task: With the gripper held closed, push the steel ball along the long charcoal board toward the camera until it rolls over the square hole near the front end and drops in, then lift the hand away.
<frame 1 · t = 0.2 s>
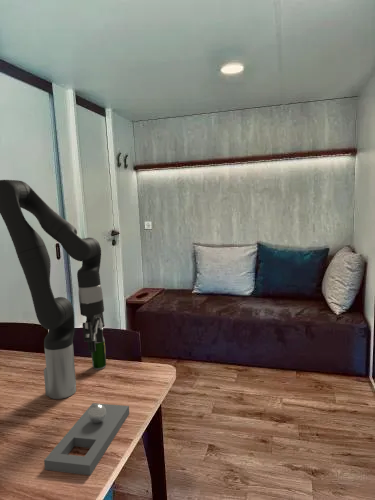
hand: (96, 346, 118), 18 cm above the table, tool pointing down, fingers open, 8 cm apart
beer can: (99, 367, 144), on the table
hole board: (92, 438, 98), on the table
steel ball: (97, 413, 102), point 5 cm above the table, touching hole board
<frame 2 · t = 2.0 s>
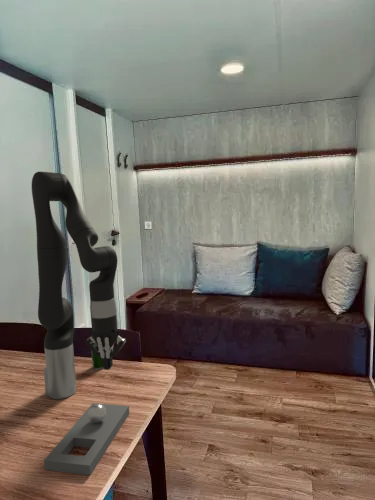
hand: (107, 368, 109), 15 cm above the table, tool pointing down, fingers closed
nothing on the table moved.
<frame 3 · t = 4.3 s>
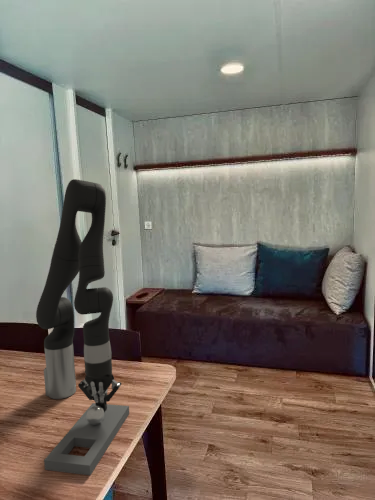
hand: (101, 412, 104), 4 cm above the table, tool pointing down, fingers closed
steel ball: (95, 415, 101), point 5 cm above the table, tilted 20°, touching gripper
everything else where it was.
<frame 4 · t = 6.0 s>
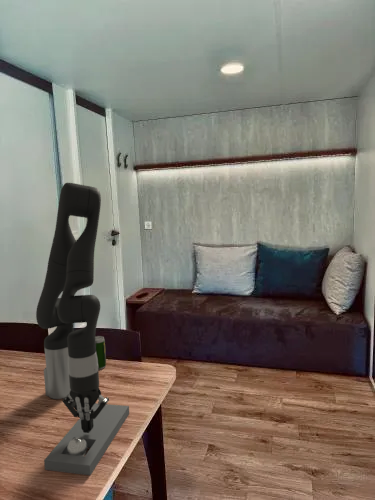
hand: (87, 430, 96), 4 cm above the table, tool pointing down, fingers closed
steel ball: (77, 448, 91), point 2 cm above the table, tilted 140°
everything else where it was.
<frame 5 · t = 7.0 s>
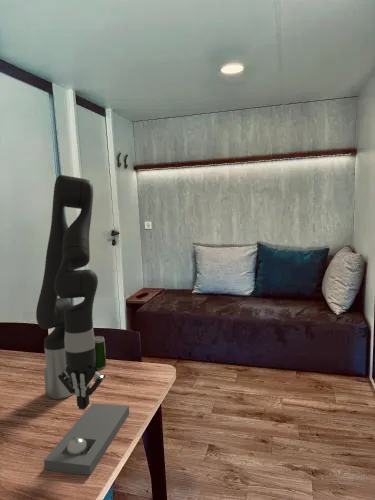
hand: (83, 407, 95), 10 cm above the table, tool pointing down, fingers closed
nothing on the table moved.
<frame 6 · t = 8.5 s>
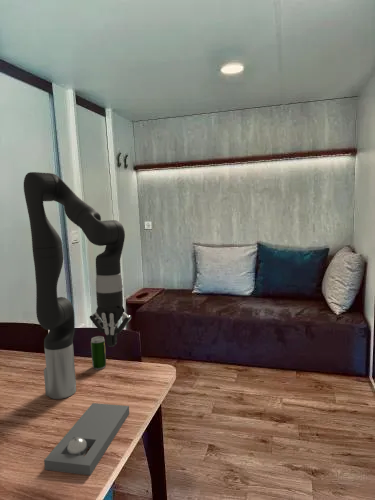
hand: (112, 345, 106), 22 cm above the table, tool pointing down, fingers closed
nothing on the table moved.
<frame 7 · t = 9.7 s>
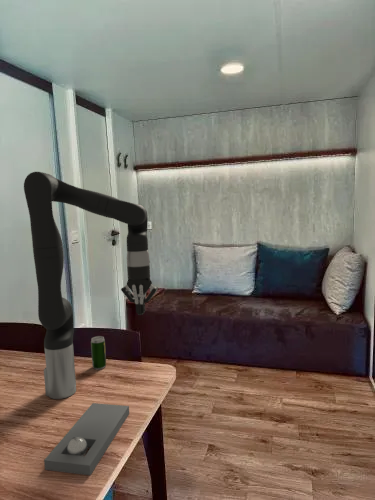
hand: (140, 314, 121), 27 cm above the table, tool pointing down, fingers closed
nothing on the table moved.
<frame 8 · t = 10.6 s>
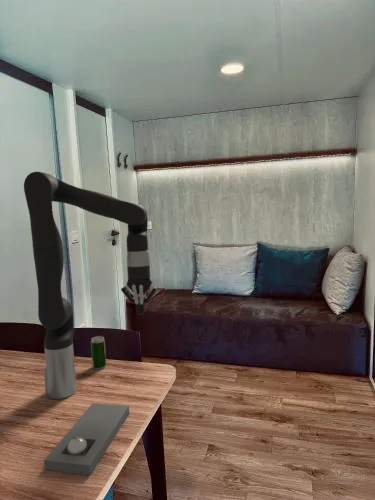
hand: (140, 314, 121), 27 cm above the table, tool pointing down, fingers closed
nothing on the table moved.
at the end: steel ball 0.6 cm from the target spot on the hole board, point 2.5 cm above the hole board's base; steel ball moved 11.9 cm from its start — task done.
